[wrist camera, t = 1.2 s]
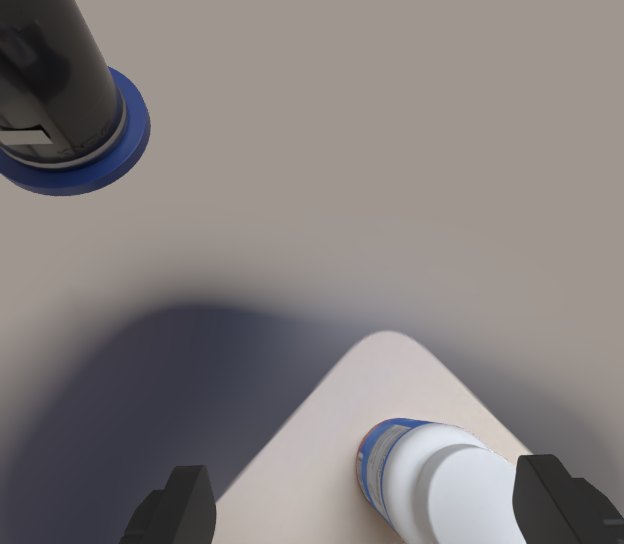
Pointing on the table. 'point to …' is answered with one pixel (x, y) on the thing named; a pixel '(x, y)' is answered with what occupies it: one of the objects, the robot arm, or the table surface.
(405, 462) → the pill bottle
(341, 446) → the table surface
